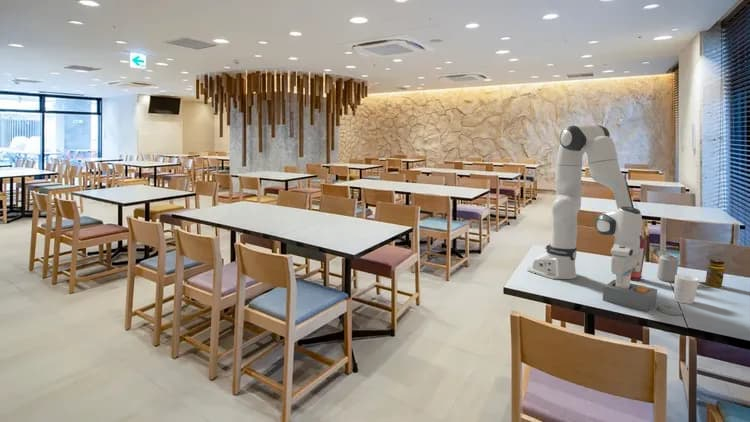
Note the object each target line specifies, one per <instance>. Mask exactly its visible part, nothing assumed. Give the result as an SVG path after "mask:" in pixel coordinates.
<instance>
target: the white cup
mask: <svg viewBox="0 0 750 422" xmlns="http://www.w3.org/2000/svg"><path fill="white" fill-rule="evenodd" d="M698 281H699V278H698V277H695V276H693V275H687V274H677V275H675V281H674V286H673V287H674V288H673V300H674V301H676V302H678V303H681V304H687V305H690V304H694V301H695V298H696V294H697V289H698V285H699V283H698ZM699 282H700V281H699Z"/></svg>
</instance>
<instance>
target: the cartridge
mask: <svg viewBox="0 0 750 422" xmlns="http://www.w3.org/2000/svg"><path fill="white" fill-rule="evenodd" d="M615 277H616V276H615ZM630 278H631V275H630V272H628V271H627V272H626V273H624V274H623V276H622V279H623V283H622V284H618V283H617V277H616V278H615V280H616V285H615V287H619V288H623V289H627V290H629V287H630V283H631V279H630Z"/></svg>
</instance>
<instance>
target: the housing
mask: <svg viewBox="0 0 750 422" xmlns="http://www.w3.org/2000/svg"><path fill="white" fill-rule="evenodd" d="M615 285H616V279H613V280H611V281H610V282H609V283H606V284H605V285H604V286H603V293H602V301H604V302H608V303H613V304H616V305H620V306H624V307H628V308H632V309H636V310H639V311H643V312H648V311H649V310H650V309H652V308H653V307H654V306H655V305H656V304H657V296H658V289H657V288H652V287H649V286H647V287H648V290H647V293H644V292H639V291H636V287H637V286H638V285H639V284H634V283H631V282H630V287H629V290H627V289H623V288H619V287H615Z"/></svg>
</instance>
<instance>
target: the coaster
mask: <svg viewBox="0 0 750 422" xmlns="http://www.w3.org/2000/svg"><path fill="white" fill-rule="evenodd" d="M657 310H658V312H660V313H662V314H665V315H670V316H676V315H679V316H682V315H683V310H682V309H679V308H677V307H674V306H669V305H658V306H657Z"/></svg>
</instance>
